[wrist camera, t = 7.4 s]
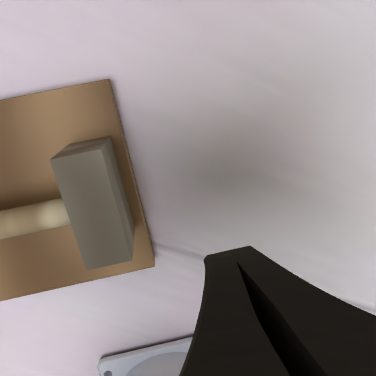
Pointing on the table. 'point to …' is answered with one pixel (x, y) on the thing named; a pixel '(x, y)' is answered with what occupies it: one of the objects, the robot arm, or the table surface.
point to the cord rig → (67, 192)
